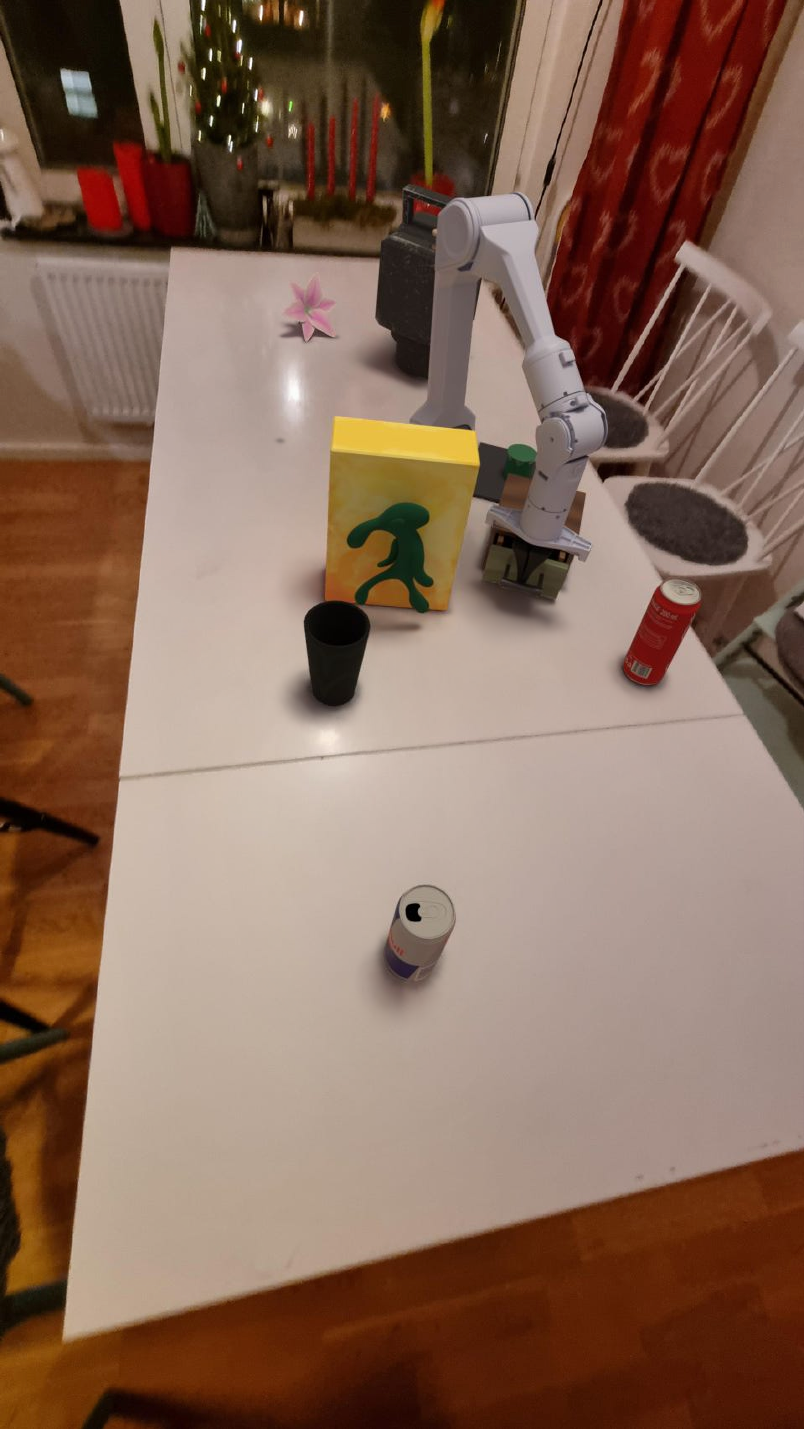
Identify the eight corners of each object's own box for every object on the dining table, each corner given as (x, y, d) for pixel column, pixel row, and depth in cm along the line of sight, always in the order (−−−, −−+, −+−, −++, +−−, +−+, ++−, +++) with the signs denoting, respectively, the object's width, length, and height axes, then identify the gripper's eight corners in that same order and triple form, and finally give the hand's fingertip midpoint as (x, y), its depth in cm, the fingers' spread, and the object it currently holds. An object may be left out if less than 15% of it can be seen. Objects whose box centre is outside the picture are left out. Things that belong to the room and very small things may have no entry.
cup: (317, 720, 86) (319, 655, 76) (293, 676, 90) (293, 609, 80) (373, 701, 89) (382, 637, 79) (348, 659, 92) (353, 593, 83)
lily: (273, 343, 144) (288, 309, 135) (273, 296, 146) (288, 260, 138) (327, 361, 149) (345, 329, 141) (327, 315, 152) (344, 282, 144)
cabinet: (561, 588, 106) (576, 549, 100) (481, 567, 107) (492, 527, 101) (571, 532, 115) (586, 492, 109) (497, 512, 116) (508, 472, 110)
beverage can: (662, 691, 96) (713, 613, 84) (615, 680, 96) (660, 601, 84) (661, 660, 99) (710, 581, 87) (616, 650, 99) (658, 569, 87)
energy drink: (381, 930, 71) (394, 882, 61) (433, 928, 72) (453, 880, 62) (385, 984, 68) (399, 942, 58) (439, 981, 68) (461, 940, 59)
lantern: (473, 364, 146) (506, 193, 122) (429, 396, 136) (456, 218, 112) (412, 339, 149) (433, 168, 126) (366, 368, 139) (379, 190, 116)
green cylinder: (505, 484, 120) (511, 461, 116) (498, 467, 123) (504, 443, 119) (533, 485, 121) (541, 461, 117) (526, 467, 124) (533, 444, 120)
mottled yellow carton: (322, 628, 95) (327, 475, 76) (327, 567, 103) (333, 415, 84) (448, 637, 97) (483, 490, 78) (444, 577, 104) (476, 430, 85)
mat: (462, 493, 118) (462, 490, 117) (479, 444, 128) (480, 442, 127) (554, 517, 117) (555, 514, 116) (564, 466, 126) (565, 463, 126)
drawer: (552, 619, 100) (564, 589, 96) (475, 599, 101) (484, 568, 96) (566, 544, 111) (577, 514, 107) (497, 526, 112) (505, 495, 107)
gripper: (611, 503, 90) (578, 582, 101) (508, 464, 92) (486, 545, 103) (596, 532, 86) (563, 611, 96) (489, 491, 88) (468, 572, 99)
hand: (522, 579), depth 100 cm, fingers closed
